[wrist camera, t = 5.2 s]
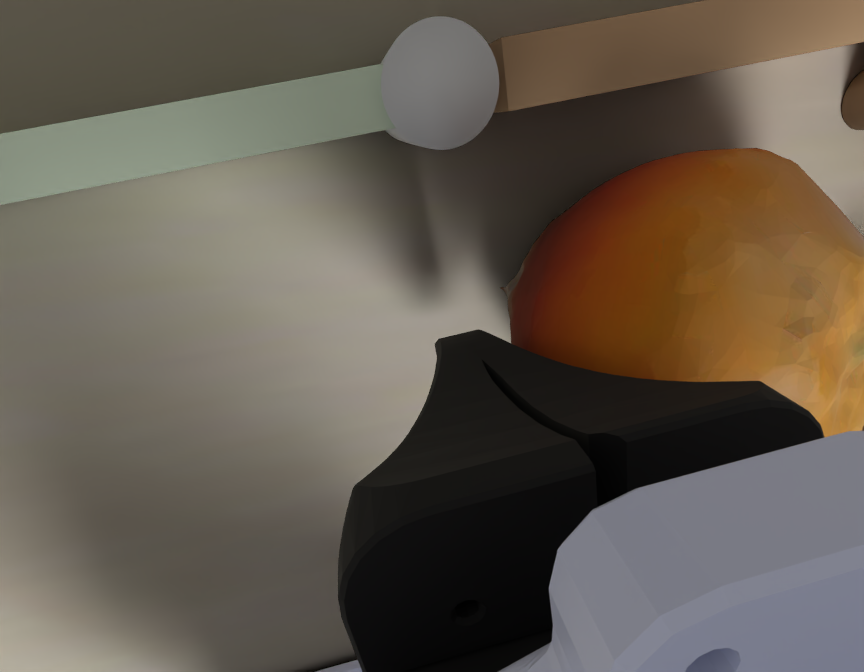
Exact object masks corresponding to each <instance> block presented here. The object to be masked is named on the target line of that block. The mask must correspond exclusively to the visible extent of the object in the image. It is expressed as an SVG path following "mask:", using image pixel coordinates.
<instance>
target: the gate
mask: <svg viewBox="0 0 864 672" xmlns="http://www.w3.org/2000/svg"><path fill="white" fill-rule="evenodd" d="M498 94H499V73H498V67H497V63H496V60H495V57H494V55H493V52H492V50H491V48H490V47H489V45H488V43H487V42H486V40H485V39H484V38H483V36H482V35H481V34H480V33H479V32H478V31H477V30H475V29H474V28H473V27H471V26H470V25H469V24H467V23H465V22H463V21H461V20H458V19H456V18H451V17H445V16H436V17H429V18H425V19H422V20H420V21H418V22H415V23H414V24H412V25H411V26H409V27H408V28H407V29H405V30H404V31H403V32H402V33H401V34H400V35H399V36H398V37H397V39H396V40H395V41H394V43H393V44H392V46H391V47H390V49H389V51H388V52H387V54H386V55H385V57H384V59H383V60H382V62H381V63H380V64H378V65H372V66H367V67H361V68H356V69H351V70H345V71H340V72H334V73H329V74H323V75H318V76H312V77H307V78H302V79H296V80H291V81H285V82H280V83H274V84H269V85H263V86H258V87H253V88H247V89H242V90H236V91H231V92H225V93H220V94H214V95H209V96H204V97H198V98H193V99H187V100H182V101H176V102H171V103H165V104H160V105H155V106H149V107H144V108H138V109H133V110H127V111H122V112H116V113H111V114H106V115H100V116H95V117H89V118H84V119H78V120H73V121H67V122H62V123H56V124H51V125H46V126H40V127H35V128H29V129H24V130H18V131H13V132H7V133H2V134H0V205H3V204H8V203H13V202H19V201H24V200H29V199H34V198H39V197H44V196H49V195H55V194H60V193H65V192H70V191H75V190H80V189H85V188H90V187H96V186H101V185H106V184H111V183H116V182H121V181H126V180H131V179H137V178H142V177H147V176H152V175H157V174H162V173H167V172H172V171H178V170H183V169H188V168H193V167H198V166H203V165H208V164H214V163H219V162H224V161H229V160H234V159H239V158H244V157H249V156H255V155H260V154H265V153H270V152H275V151H280V150H285V149H290V148H296V147H301V146H306V145H311V144H316V143H321V142H326V141H331V140H337V139H342V138H347V137H352V136H357V135H362V134H367V133H372V132H378V131H383V130H385V131H386V132H387V133H388V134H389V135H391V136H392V137H394V138H395V139H397V140H400V141H402V142H405V143H409V144H413V145H417V146H421V147H425V148H429V149H434V150H447V149H453V148H456V147H459V146H462V145H464V144H466V143H467V142H469V141H471V140H472V139H473V138H475V137H476V136H477V135H478V134H479V133H480V132H481V131H482V130H483V129H484V127H485V126H486V125H487V123H488V122H489V120H490V118H491V117H492V114H493V112H494V110H495V107H496V103H497V99H498Z"/></svg>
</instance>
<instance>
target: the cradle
mask: <svg viewBox="0 0 864 672" xmlns="http://www.w3.org/2000/svg"><path fill="white" fill-rule="evenodd" d="M860 42H864V0H704V1H698V2H693V3H687V4H682V5H676V6H671V7H665V8H660V9H654V10H649V11H644V12H638V13H633V14H627V15H622V16H616V17H611V18H605V19H600V20H594V21H589V22H583V23H578V24H572V25H567V26H561V27H556V28H551V29H545V30H540V31H534V32H529V33H523V34H518V35H512V36H507V37H501V38H500V39H498V40H496V41H494V42H492V43H491V44H489V47H490V48H491V50H492V52H493V55H494V57H495V60H496V63H497V67H498V73H499V94H498V99H497V103H496V107H495V110H494V112H493V113H496V112H507V111H513V110H518V109H524V108H529V107H534V106H539V105H544V104H549V103H554V102H559V101H564V100H569V99H575V98H580V97H585V96H590V95H595V94H600V93H605V92H610V91H615V90H621V89H626V88H631V87H636V86H641V85H646V84H651V83H656V82H661V81H666V80H672V79H677V78H682V77H687V76H692V75H697V74H702V73H707V72H712V71H717V70H723V69H728V68H733V67H738V66H743V65H748V64H753V63H758V62H763V61H769V60H774V59H779V58H784V57H789V56H794V55H799V54H804V53H809V52H814V51H820V50H825V49H830V48H835V47H840V46H845V45H850V44H855V43H860ZM842 115H843V119H844V121H845V123H846V124H847V125H848V126H849V127H850V128H852V129H855V130H864V70H863V71H862V72H860V73H859V74H858V75H857V76H856V77H855V78H854V79H853V81H852V82H851V83H850V85H849V87H848V89H847V91H846V93H845V95H844V99H843V103H842ZM862 431H864V426H863V429H862Z"/></svg>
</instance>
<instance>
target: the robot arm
mask: <svg viewBox="0 0 864 672" xmlns="http://www.w3.org/2000/svg"><path fill="white" fill-rule="evenodd" d="M435 349H436V354H437V363H436V369H435V374H434V378H433V382H432V385H431V388H430V391H429V394H428V397H427V400H426V402H425V404H424V407H423V409H422V411H421V413H420V415H419V417H418V419H417V420H416V422H415V424H414V425H413V427H412V428H411V430H410V432H409V433H408V435H407V436H406V438H405V439H404V440H403V442H402V443H401V444H400V445H399V446H398V448H397V449H396V450H395V451H394V452H393V453H392V454H391V455H390V456H389V457H388V458H387V459H386V460H385V461H384V462H383V463H382V464H380V465H379V466H378V467H377V468H376V469H374V470H373V471H372V472H371V473H370V474H368V475H367V476H366V477H365V478H364V479H362V480H361V481H360V482H358V483H357V484H356V485H355V486H354V488H353V490H352V493H351V497H350V500H349V504H348V508H347V512H346V516H345V521H344V526H343V531H342V538H341V544H340V551H339V562H338V600H339V605H340V611H341V617H342V620H343V623H344V625H345V628H346V630H347V633H348V636H349V638H350V641H351V643H352V646H353V649H354V651H355V654H356V657H357V659H358V660H354V661H351V662H347V663H343V664H340V665H336V666H333V667H329V668H326V669H322V670H319V671H315V672H864V431H848V432H844V433H839V434H836V435H832V436H828V437H824V434H823V430H822V427H821V424H820V423H819V422H818V421H817V420H816V419H815V417H814V416H813V415H812V414H811V413H810V412H809V411H808V410H806V409H805V408H803V407H802V406H800V405H798V404H797V403H795V402H793V401H792V400H790V399H789V398H787V397H785V396H784V395H782V394H781V393H779V392H777V391H776V390H774V389H772V388H771V387H769V386H768V385H766V384H764V383H763V382H761V381H720V382H688V381H667V380H654V379H642V378H634V377H627V376H620V375H613V374H607V373H602V372H597V371H592V370H588V369H584V368H580V367H576V366H571V365H568V364H565V363H561V362H558V361H555V360H552V359H549V358H546V357H543V356H540V355H538V354H535V353H533V352H530V351H528V350H525V349H523V348H520V347H518V346H516V345H513V344H511V343H509V342H507V341H504V340H502V339H500V338H498V337H496V336H493V335H491V334H489V333H487V332H484V331H482V330H474V331H470V332H466V333H462V334H457V335H453V336H449V337H445V338H440V339H438V340H437V342H436V343H435Z"/></svg>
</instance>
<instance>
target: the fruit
mask: <svg viewBox="0 0 864 672" xmlns="http://www.w3.org/2000/svg"><path fill="white" fill-rule="evenodd" d="M501 289H503V290H504V291H505V293H506V295H507V297H508V312H509V316H510V329H511V344H513V345H516V346H518V347H520V348H523V349H525V350H528V351H530V352H533V353H535V354H538V355H540V356H543V357H546V358H549V359H552V360H555V361H558V362H561V363H565V364H568V365H571V366H576V367H580V368H584V369H588V370H592V371H597V372H602V373H607V374H613V375H620V376H627V377H634V378H642V379H654V380H667V381H688V382H720V381H761V382H763V383H764V384H766V385H768V386H769V387H771V388H772V389H774V390H776V391H777V392H779V393H781V394H782V395H784V396H785V397H787V398H789V399H790V400H792V401H793V402H795V403H797V404H798V405H800V406H802V407H803V408H805V409H806V410H808V411H809V412H810V413H811V414H812V415H813V416H814V417H815V419H816V420H817V421H818V422H819V423H820V424H821V427H822V430H823V434H824V437H828V436H832V435H836V434H839V433H844V432H848V431H862V429H863V426H864V237H863V236H862V235H861V234H860V232H859V231H858V230H857V229H856V228H855V226H854V225H853V224H852V223H851V222H850V221H849V219H848V218H847V217H846V216H845V215H844V214H843V212H842V211H841V210H840V209H839V208H838V207H837V206H836V205H835V203H834V202H833V201H832V200H831V199H830V198H829V197H828V196H827V195H826V194H825V193H824V192H823V191H822V190H821V189H820V188H819V186H818V185H817V184H816V183H815V182H814V181H813V180H812V179H811V178H810V177H809V176H808V175H807V174H806V173H805V172H804V171H803V170H802V169H801V168H800V167H799V166H798V164H796V163H794V162H793V161H791V160H789V159H786V158H783V157H781V156H778V155H776V154H774V153H772V152H770V151H767V150H763V149H758V148H746V149H738V148H735V149H719V150H704V151H695V152H688V153H682V154H677V155H673V156H669V157H665V158H661V159H657V160H654V161H651V162H648V163H645V164H642V165H640V166H637V167H635V168H633V169H631V170H628V171H626V172H624V173H622V174H620V175H618V176H616V177H614V178H612V179H610V180H608V181H606V182H605V183H603V184H602V185H600V186H598V187H597V188H595V189H594V190H592V191H591V192H589V193H588V194H587V195H586V196H584V197H583V198H582V199H580V200H579V201H578V202H577V203H575V204H574V205H573V206H572V207H570V208H569V209H568V210H566V211H565V212H564V213H563V214H561V215H560V216H559V217H557V218H556V219H554V220H553V221H551V222H550V224H549V225H548V226H547V227H546V229H545V230H544V231H543V233H542V234H541V235H540V236H539V238H538V239H537V240H536V241H535V242H534V243H533V245H532V247H531V249H530V251H529V253H528V254H527V256H526V257H525V259H524V261H523V263H522V266H521V268H520V270H519V272H518V273H517V275H516V276H515V278H514V279H513V280H511V281H510V282H509V283H508V285H507V286H506V287H501Z"/></svg>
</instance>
